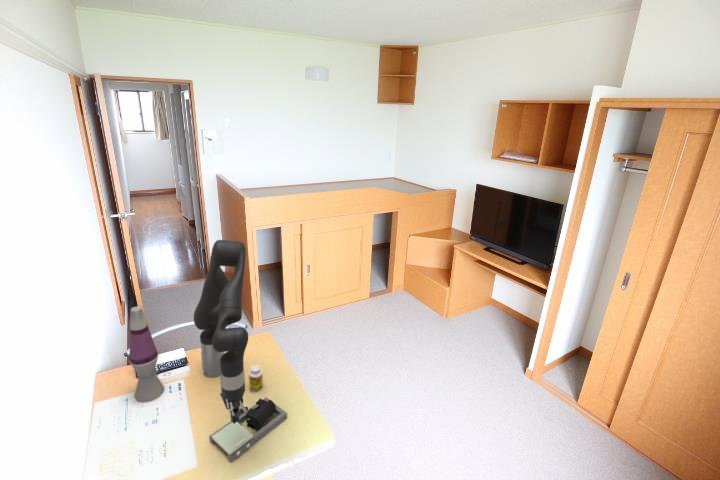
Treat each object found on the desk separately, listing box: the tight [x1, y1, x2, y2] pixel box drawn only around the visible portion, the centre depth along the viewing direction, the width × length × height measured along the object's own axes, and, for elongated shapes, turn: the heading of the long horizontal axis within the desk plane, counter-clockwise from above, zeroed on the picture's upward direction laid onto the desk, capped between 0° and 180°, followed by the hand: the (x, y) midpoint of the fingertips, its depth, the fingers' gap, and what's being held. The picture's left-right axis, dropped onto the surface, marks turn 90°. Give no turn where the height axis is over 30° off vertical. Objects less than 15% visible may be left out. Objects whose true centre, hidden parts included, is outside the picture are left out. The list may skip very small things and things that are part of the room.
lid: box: [209, 420, 253, 455], centre depth 135 cm, size 12×10×1 cm
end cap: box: [245, 398, 276, 431], centre depth 145 cm, size 10×7×7 cm
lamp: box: [128, 305, 165, 403], centre depth 149 cm, size 11×11×40 cm
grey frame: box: [208, 396, 288, 463], centre depth 141 cm, size 13×26×2 cm, turn 142°
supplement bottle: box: [248, 364, 264, 392], centre depth 160 cm, size 6×6×10 cm
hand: (235, 421), depth 130 cm, fingers closed
